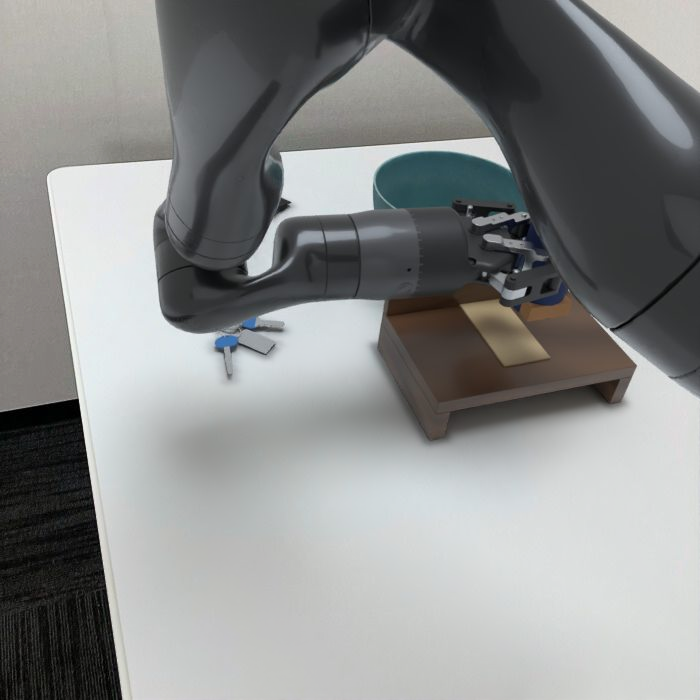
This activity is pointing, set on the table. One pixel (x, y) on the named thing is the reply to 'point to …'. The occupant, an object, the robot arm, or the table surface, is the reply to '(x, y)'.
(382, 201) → the teal bowl
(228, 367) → the key chain
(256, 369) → the table surface
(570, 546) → the table surface
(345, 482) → the table surface
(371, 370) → the table surface
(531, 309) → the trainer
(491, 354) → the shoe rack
